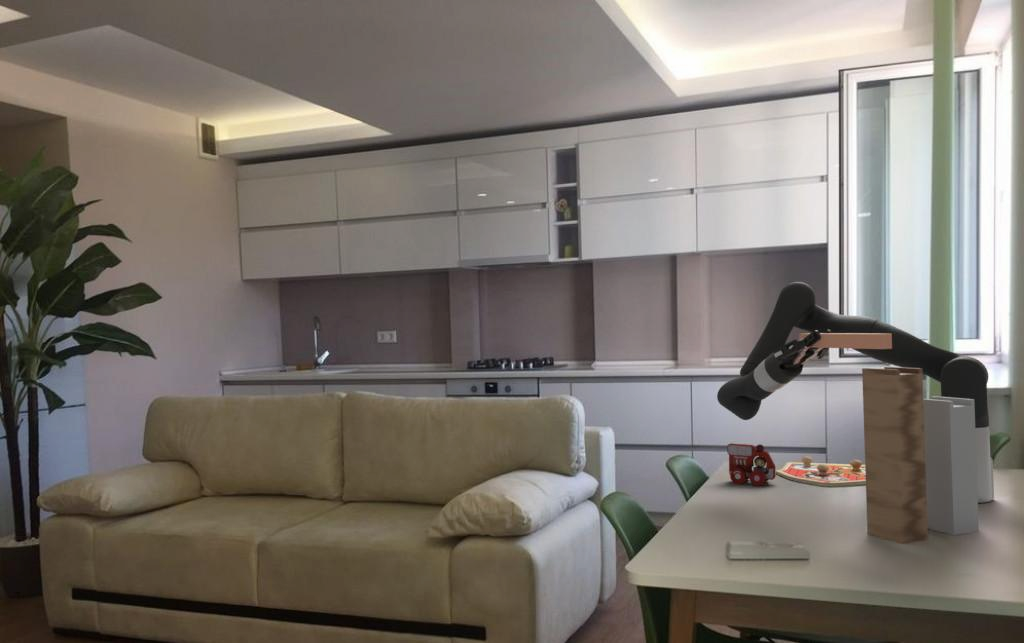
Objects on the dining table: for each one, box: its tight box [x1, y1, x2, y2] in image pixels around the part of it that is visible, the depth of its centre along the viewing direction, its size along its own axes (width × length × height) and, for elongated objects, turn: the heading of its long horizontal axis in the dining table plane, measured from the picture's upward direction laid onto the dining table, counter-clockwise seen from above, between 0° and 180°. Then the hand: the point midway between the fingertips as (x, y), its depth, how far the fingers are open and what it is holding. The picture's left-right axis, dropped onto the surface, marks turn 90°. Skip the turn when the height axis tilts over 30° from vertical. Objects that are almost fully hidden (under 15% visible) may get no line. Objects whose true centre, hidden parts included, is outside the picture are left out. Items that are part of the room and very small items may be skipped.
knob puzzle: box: [775, 455, 866, 488], centre depth 212 cm, size 29×30×4 cm
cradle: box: [923, 395, 980, 536], centre depth 157 cm, size 7×9×26 cm
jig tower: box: [861, 366, 929, 545], centre depth 152 cm, size 7×8×33 cm
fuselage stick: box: [798, 332, 892, 350], centre depth 163 cm, size 3×22×3 cm, turn 23°
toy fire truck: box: [726, 442, 777, 487], centre depth 206 cm, size 7×12×10 cm, turn 58°
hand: (824, 333), depth 168 cm, fingers closed on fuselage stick, 3 cm apart
